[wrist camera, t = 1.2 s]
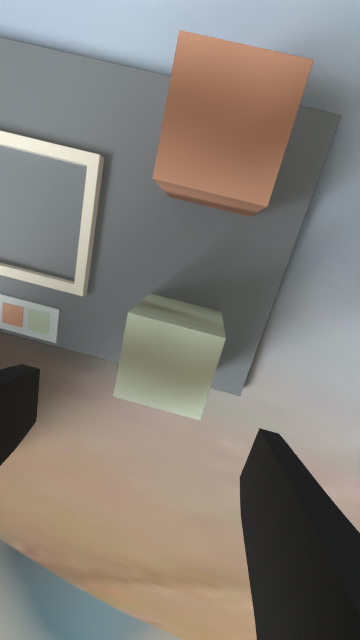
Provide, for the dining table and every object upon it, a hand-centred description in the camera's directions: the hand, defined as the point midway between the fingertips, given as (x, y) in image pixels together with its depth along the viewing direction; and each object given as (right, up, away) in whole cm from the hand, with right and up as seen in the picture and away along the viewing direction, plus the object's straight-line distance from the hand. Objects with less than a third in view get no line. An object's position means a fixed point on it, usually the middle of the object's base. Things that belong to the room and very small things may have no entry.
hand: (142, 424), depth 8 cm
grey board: (-3, +8, +8) cm, 12 cm away
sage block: (+1, +2, +8) cm, 9 cm away
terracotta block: (+3, +12, +5) cm, 13 cm away
